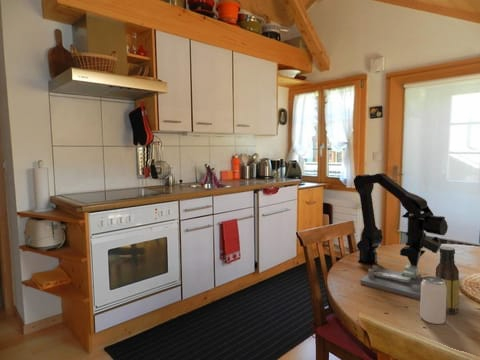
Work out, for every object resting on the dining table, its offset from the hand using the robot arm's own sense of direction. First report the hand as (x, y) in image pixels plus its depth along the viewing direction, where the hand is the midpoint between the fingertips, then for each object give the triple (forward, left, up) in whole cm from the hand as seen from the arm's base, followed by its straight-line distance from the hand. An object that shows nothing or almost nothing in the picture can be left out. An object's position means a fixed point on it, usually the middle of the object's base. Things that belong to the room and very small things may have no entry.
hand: (414, 268), depth 126 cm
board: (-3, -11, -3) cm, 12 cm away
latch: (0, -6, -1) cm, 6 cm away
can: (+12, -31, -4) cm, 34 cm away
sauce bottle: (+14, -22, -3) cm, 27 cm away
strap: (-5, -12, -1) cm, 14 cm away
